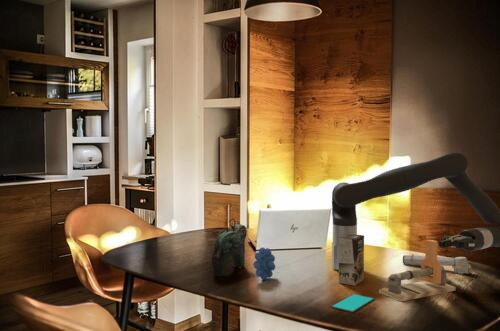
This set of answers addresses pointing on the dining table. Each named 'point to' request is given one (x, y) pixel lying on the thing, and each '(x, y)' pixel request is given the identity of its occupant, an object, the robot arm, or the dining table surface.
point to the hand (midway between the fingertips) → (440, 244)
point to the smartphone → (352, 303)
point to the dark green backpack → (229, 248)
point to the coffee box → (351, 259)
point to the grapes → (264, 263)
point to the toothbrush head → (457, 263)
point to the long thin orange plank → (431, 262)
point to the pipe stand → (415, 285)
